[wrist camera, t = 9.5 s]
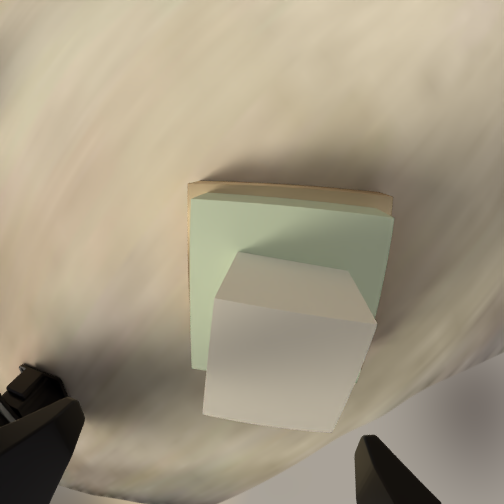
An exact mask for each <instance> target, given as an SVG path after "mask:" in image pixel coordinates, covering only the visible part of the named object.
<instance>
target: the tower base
mask: <svg viewBox="0 0 504 504" xmlns="http://www.w3.org/2000/svg"><path fill="white" fill-rule="evenodd" d="M207 192H208V193H225V194H239V195H253V196H266V197H278V198H289V199H300V200H310V201H319V202H329V203H338V204H347V205H355V206H363V207H371V208H377V209H379V210H381V211H383V212H384V213H386V214H388V215H390V216H391V213H392V203H393V197H392V196H389V195H386V194H383V193H380V192H371V191H362V190H352V189H341V188H330V187H318V186H304V185H289V184H272V183H252V182H225V181H197V182H193V183H188V276H189V303H190V212H191V199H192V198H194V197H197V196H199V195H202V194H204V193H207ZM363 363H364V362H363ZM362 366H363V365H362ZM361 370H362V368H361Z"/></svg>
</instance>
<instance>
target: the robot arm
mask: <svg viewBox="0 0 504 504" xmlns="http://www.w3.org/2000/svg"><path fill="white" fill-rule="evenodd" d="M19 369H20V371H21V374H20V375H19V376H17V377H16V378H15V379H14V380H13V381H12V382H11V383H10V384H9V385H8V386H7V388H6V389H7V391H6V392H5V393H4V394H3V395H2V396H1V393H0V504H49V503H50V501H51V499H52V497H53V495H54V492H55V490H56V488H57V486H58V484H59V482H60V480H61V478H62V475H63V473H64V471H65V469H66V467H67V465H68V463H69V461H70V459H71V457H72V454H73V452H74V449H75V446H76V444H77V441H78V438H79V435H80V433H81V430H82V427H83V425H84V421H85V417H84V414H83V412H82V409H81V406H80V404H79V402H78V401H77V400H76V399H73V398H70V397H68V396H67V393H66V391H65V388H64V386H63V383H62V381H61V380H60V379H59V378H58V377H55V376H52V375H49V374H47V373H44V372H41V371H38V370H36V369H33V368H31V367H28V366H25V365H23V364H22V365H20V366H19ZM355 479H356V501H357V504H441V502H440V501H439V500H438V499H437V498H436V497H435V496H434V495H433V494H432V493H431V492H430V491H429V490H428V489H427V488H426V487H425V486H424V485H423V484H422V483H421V482H420V481H419V480H418V479H417V478H416V476H414V475H413V473H412V472H411V471H410V470H409V469H408V468H407V467H406V466H405V465H404V464H403V463H402V462H401V461H400V460H399V459H398V458H397V457H396V456H395V455H394V454H393V453H392V452H391V450H390V449H389V448H388V447H387V446H386V445H385V444H384V443H383V442H382V441H381V440H380V439H379V438H378V437H377V436H376V435H364V436H362V437H361V439H360V442H359V444H358V447H357V449H356V452H355Z"/></svg>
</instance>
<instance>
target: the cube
mask: <svg viewBox="0 0 504 504" xmlns="http://www.w3.org/2000/svg"><path fill="white" fill-rule="evenodd" d="M377 325H378V324H377V322H376V320H375V319H374V317H373V315H372V313H371V311H370V309H369V307H368V306H367V304H366V302H365V300H364V298H363V296H362V295H361V293H360V291H359V289H358V287H357V286H356V284H355V282H354V280H353V279H352V277H351V275H350V273H349V272H348V271H346V270H341V269H335V268H329V267H323V266H318V265H312V264H306V263H300V262H295V261H289V260H283V259H277V258H272V257H266V256H260V255H255V254H249V253H243V252H237V254H236V256H235V258H234V260H233V262H232V264H231V266H230V268H229V270H228V272H227V274H226V276H225V278H224V280H223V282H222V284H221V286H220V288H219V290H218V292H217V294H216V296H215V298H214V305H213V314H212V323H211V332H210V341H209V351H208V361H207V371H206V381H205V392H204V403H203V415H207V416H212V417H217V418H222V419H227V420H232V421H238V422H243V423H249V424H255V425H262V426H269V427H276V428H284V429H293V430H302V431H313V432H326V433H332V432H333V430H334V428H335V426H336V424H337V422H338V419H339V417H340V415H341V413H342V411H343V409H344V407H345V404H346V402H347V400H348V398H349V396H350V393H351V391H352V389H353V386H354V384H355V382H356V379H357V377H358V375H359V372H360V370H361V367H362V365H363V362H364V360H365V357H366V355H367V352H368V349H369V347H370V344H371V341H372V339H373V336H374V333H375V330H376V327H377Z"/></svg>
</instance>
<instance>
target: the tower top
mask: <svg viewBox="0 0 504 504" xmlns="http://www.w3.org/2000/svg"><path fill="white" fill-rule="evenodd" d="M394 219H395V218H394V217H392V216H390V215H388V214H386V213H384V212H383V211H381V210H379V209H377V208H371V207H363V206H355V205H347V204H338V203H329V202H319V201H310V200H300V199H289V198H278V197H266V196H253V195H239V194H225V193H208V192H207V193H204V194H202V195H199V196H197V197H194V198H192V199H191V212H190V334H191V362H192V368H193V369H199V370H205V371H207V361H208V351H209V341H210V332H211V323H212V314H213V305H214V298H215V296H216V294H217V292H218V290H219V288H220V286H221V284H222V282H223V280H224V278H225V276H226V274H227V272H228V270H229V268H230V266H231V264H232V262H233V260H234V258H235V256H236V254H237V252H243V253H249V254H255V255H260V256H266V257H272V258H277V259H283V260H289V261H295V262H300V263H306V264H312V265H318V266H323V267H329V268H335V269H341V270H346V271H348V272H349V273H350V275H351V277H352V279H353V280H354V282H355V284H356V286H357V287H358V289H359V291H360V293H361V295H362V296H363V298H364V300H365V302H366V304H367V306H368V307H369V309H370V311H371V313H372V315H373V317H374V319H375V316H376V312H377V308H378V304H379V299H380V295H381V291H382V286H383V281H384V276H385V271H386V266H387V261H388V255H389V250H390V244H391V238H392V232H393V225H394ZM361 368H362V367H361ZM360 371H361V370H360ZM359 374H360V372H359ZM358 377H359V375H358ZM358 377H357V379H356V382H355V383H357V380H358Z"/></svg>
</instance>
